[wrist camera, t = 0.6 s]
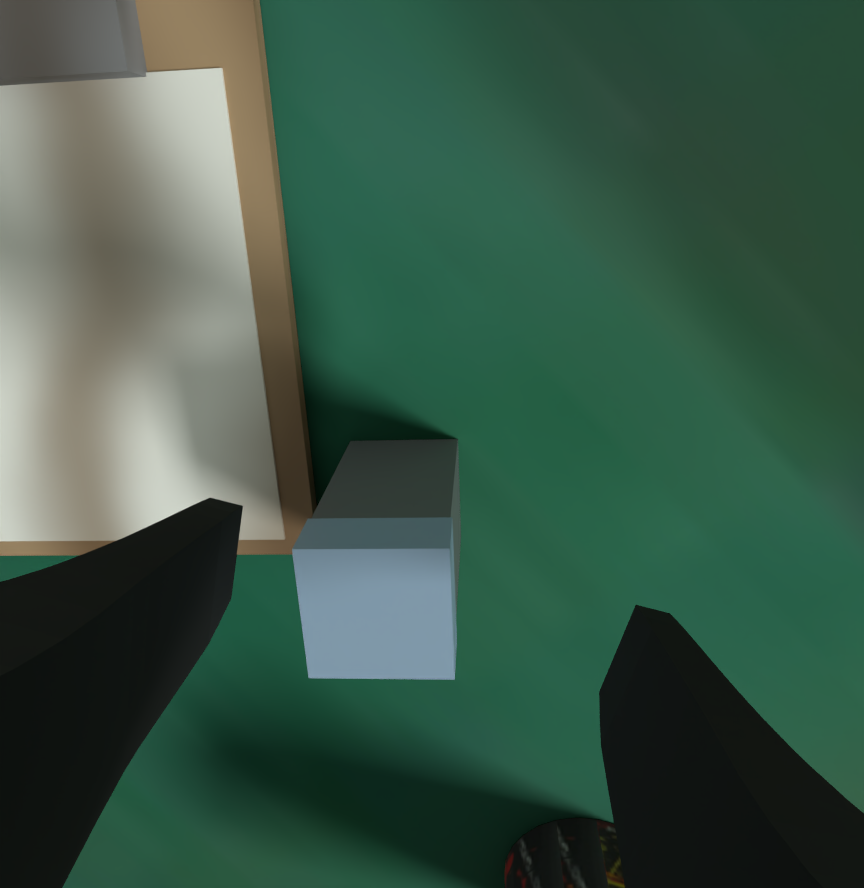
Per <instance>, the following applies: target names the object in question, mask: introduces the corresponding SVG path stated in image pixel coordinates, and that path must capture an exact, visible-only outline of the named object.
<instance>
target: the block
mask: <svg viewBox="0 0 864 888" xmlns="http://www.w3.org/2000/svg"><path fill="white" fill-rule="evenodd" d="M460 543H461V523H460V492H459V461H458V439H434V440H376V441H350V443H349V445H348V447H347V449H346V451H345V453H344V455H343V456H342V458H341V460H340V462H339V464H338V466H337V468H336V470H335V472H334V474H333V476H332V478H331V480H330V482H329V484H328V486H327V488H326V490H325V492H324V494H323V496H322V498H321V500H320V502H319V504H318V506H317V508H316V510H315V512H314V514H313V516H312V518H311V519H307V521H306V523H305V525H304V527H303V529H302V531H301V533H300V535H299V537H298V539H297V541H296V543H295V545H294V546H293V548H292V553H293V561H294V568H295V576H296V584H297V592H298V599H299V607H300V615H301V622H302V630H303V638H304V645H305V653H306V661H307V668H308V676H309V678H348V679H451V680H455V666H456V647H457V630H456V611H457V594H458V577H459V560H460Z"/></svg>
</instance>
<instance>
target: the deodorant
mask: <svg viewBox="0 0 864 888" xmlns="http://www.w3.org/2000/svg"><path fill="white" fill-rule="evenodd" d="M505 888H625V886H624V878H623V871H622V865H621V859H620V854H619V848H618V842H617V836H616V831H615V825H614V824H612V823H608V822H604V821H601V820H597V819H586V818H570V819H562V820H555V821H552V822H549V823H546V824H543V825H540V826H538V827H536V828H534V829H533V830H531V831H529V832H528V833H526V834H524V835H523V836H522V837H521V838H520V839H519V840H518V841H517V842H516V843H515V844H514V845H513V846H512V848H511V850H510V852H509V854H508V856H507V858H506V864H505Z"/></svg>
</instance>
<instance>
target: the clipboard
mask: <svg viewBox="0 0 864 888" xmlns="http://www.w3.org/2000/svg"><path fill="white" fill-rule="evenodd" d="M208 498H214V499H218V500H222V501H226V502H230V503H234V504H238V505H242V506H243V510H242V518H241V526H240V533H239V541H238V549H237V554H293V553H292V548H293V546H294V545H295V543H296V541H297V539H298V537H299V535H300V533H301V531H302V529H303V527H304V525H305V523H306V521H307V519H311V518H312V516H313V514H314V512H315V510H316V508H317V503H316V494H315V485H314V476H313V467H312V458H311V450H310V441H309V432H308V423H307V414H306V406H305V397H304V388H303V379H302V370H301V361H300V353H299V344H298V335H297V326H296V317H295V309H294V300H293V291H292V282H291V273H290V264H289V256H288V247H287V238H286V229H285V220H284V212H283V203H282V194H281V185H280V176H279V167H278V159H277V150H276V141H275V132H274V123H273V115H272V106H271V97H270V88H269V79H268V70H267V62H266V53H265V44H264V35H263V26H262V18H261V9H260V0H0V556H13V555H82V554H85V553H87V552H90V551H92V550H95V549H97V548H100V547H102V546H104V545H107V544H109V543H112V542H114V541H117V540H119V539H122V538H124V537H126V536H128V535H130V534H133V533H135V532H137V531H139V530H141V529H143V528H146V527H148V526H150V525H152V524H154V523H156V522H159V521H161V520H163V519H165V518H167V517H169V516H171V515H173V514H175V513H177V512H179V511H182V510H184V509H186V508H188V507H190V506H192V505H194V504H196V503H199V502H201V501H203V500H206V499H208Z"/></svg>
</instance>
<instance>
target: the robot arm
mask: <svg viewBox="0 0 864 888" xmlns="http://www.w3.org/2000/svg"><path fill="white" fill-rule="evenodd" d="M242 510H243V506H242V505H238V504H234V503H230V502H226V501H222V500H218V499H214V498H208V499H206V500H203V501H201V502H199V503H196V504H194V505H192V506H190V507H188V508H186V509H184V510H182V511H179V512H177V513H175V514H173V515H171V516H169V517H167V518H165V519H163V520H161V521H159V522H156V523H154V524H152V525H150V526H148V527H146V528H143V529H141V530H139V531H137V532H135V533H133V534H130V535H128V536H126V537H124V538H122V539H119V540H117V541H114V542H112V543H109V544H107V545H104V546H102V547H100V548H97V549H95V550H92V551H90V552H87V553H85V554H82V555H80V556H77V557H75V558H72V559H70V560H67V561H64V562H62V563H59V564H56V565H53V566H50V567H47V568H44V569H42V570H39V571H35V572H32V573H29V574H26V575H22V576H19V577H16V578H13V579H9V580H6V581H2V582H0V888H62V887H63V885H64V883H65V881H66V879H67V877H68V875H69V874H70V872H71V870H72V868H73V866H74V864H75V862H76V860H77V858H78V856H79V854H80V852H81V850H82V849H83V847H84V845H85V843H86V841H87V839H88V837H89V835H90V833H91V831H92V829H93V827H94V826H95V824H96V822H97V820H98V818H99V816H100V815H101V813H102V811H103V809H104V807H105V805H106V803H107V802H108V800H109V798H110V796H111V794H112V792H113V791H114V789H115V787H116V785H117V783H118V781H119V780H120V778H121V776H122V774H123V772H124V771H125V769H126V767H127V766H128V764H129V762H130V761H131V759H132V758H133V756H134V754H135V753H136V751H137V750H138V748H139V746H140V745H141V743H142V742H143V741H144V739H145V738H146V736H147V735H148V733H149V732H150V730H151V729H152V727H153V726H154V724H155V723H156V721H157V720H158V718H159V717H160V716H161V714H162V713H163V711H164V710H165V708H166V707H167V705H168V704H169V702H170V701H171V699H172V698H173V696H174V695H175V693H176V692H177V691H178V689H179V688H180V686H181V685H182V683H183V682H184V680H185V679H186V677H187V676H188V674H189V673H190V671H191V670H192V668H193V667H194V665H195V664H196V662H197V661H198V659H199V658H200V656H201V655H202V653H203V652H204V650H205V649H206V647H207V646H208V644H209V642H210V640H211V638H212V636H213V634H214V632H215V630H216V628H217V626H218V624H219V622H220V620H221V618H222V616H223V614H224V612H225V610H226V608H227V606H228V604H229V602H230V600H231V596H232V588H233V580H234V572H235V565H236V557H237V549H238V541H239V533H240V526H241V518H242ZM599 698H600V732H601V748H602V754H603V761H604V767H605V773H606V779H607V785H608V791H609V796H610V802H611V808H612V814H613V819H614V825H615V831H616V836H617V842H618V848H619V854H620V859H621V865H622V871H623V878H624V886H625V888H864V813H862V812H861V811H860V810H859V809H858V808H857V807H855V806H854V805H853V804H852V803H851V802H849V801H848V800H847V799H846V798H845V797H844V796H843V795H842V794H840V793H839V792H838V791H837V790H836V789H835V788H834V787H833V786H832V785H830V784H829V783H828V782H827V781H826V780H825V779H824V778H823V777H822V776H821V775H819V774H818V773H817V772H816V771H815V770H814V769H813V768H812V767H811V766H809V765H808V764H807V763H806V762H805V761H804V760H803V759H802V758H801V757H800V756H799V755H798V754H797V753H796V752H795V751H794V750H793V749H792V748H791V747H790V746H789V745H788V744H787V743H786V742H785V741H784V740H783V739H782V738H781V737H780V736H779V735H778V734H777V733H776V732H775V731H774V730H773V729H772V727H771V726H770V725H769V724H768V723H767V722H766V721H765V720H764V719H763V718H762V717H761V716H760V715H759V714H758V713H757V712H756V711H755V709H754V708H753V707H752V706H751V705H750V704H749V703H748V702H747V701H746V700H745V698H744V697H743V696H742V695H741V694H740V693H739V692H738V691H737V690H736V688H735V687H734V686H733V685H732V684H731V683H730V682H729V680H728V679H727V678H726V677H725V676H724V675H723V673H722V672H721V671H720V670H719V669H718V668H717V666H716V665H715V664H714V663H713V662H712V661H711V659H710V658H709V657H708V656H707V655H706V654H705V652H704V651H703V650H702V649H701V648H700V647H699V645H698V644H697V643H696V642H695V641H694V640H693V638H692V637H691V636H690V635H689V634H688V633H687V631H686V630H685V629H684V628H683V627H682V626H681V625H680V624H679V623H678V621H677V620H676V619H675V618H674V617H673V616H672V615H671V614H670V613H666V612H662V611H658V610H654V609H650V608H646V607H642V606H638V605H636V606H635V608H634V611H633V613H632V615H631V618H630V620H629V622H628V625H627V627H626V630H625V632H624V634H623V637H622V639H621V642H620V644H619V646H618V649H617V651H616V653H615V656H614V658H613V661H612V663H611V665H610V668H609V670H608V672H607V675H606V677H605V680H604V682H603V684H602V687H601V689H600V692H599Z"/></svg>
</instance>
